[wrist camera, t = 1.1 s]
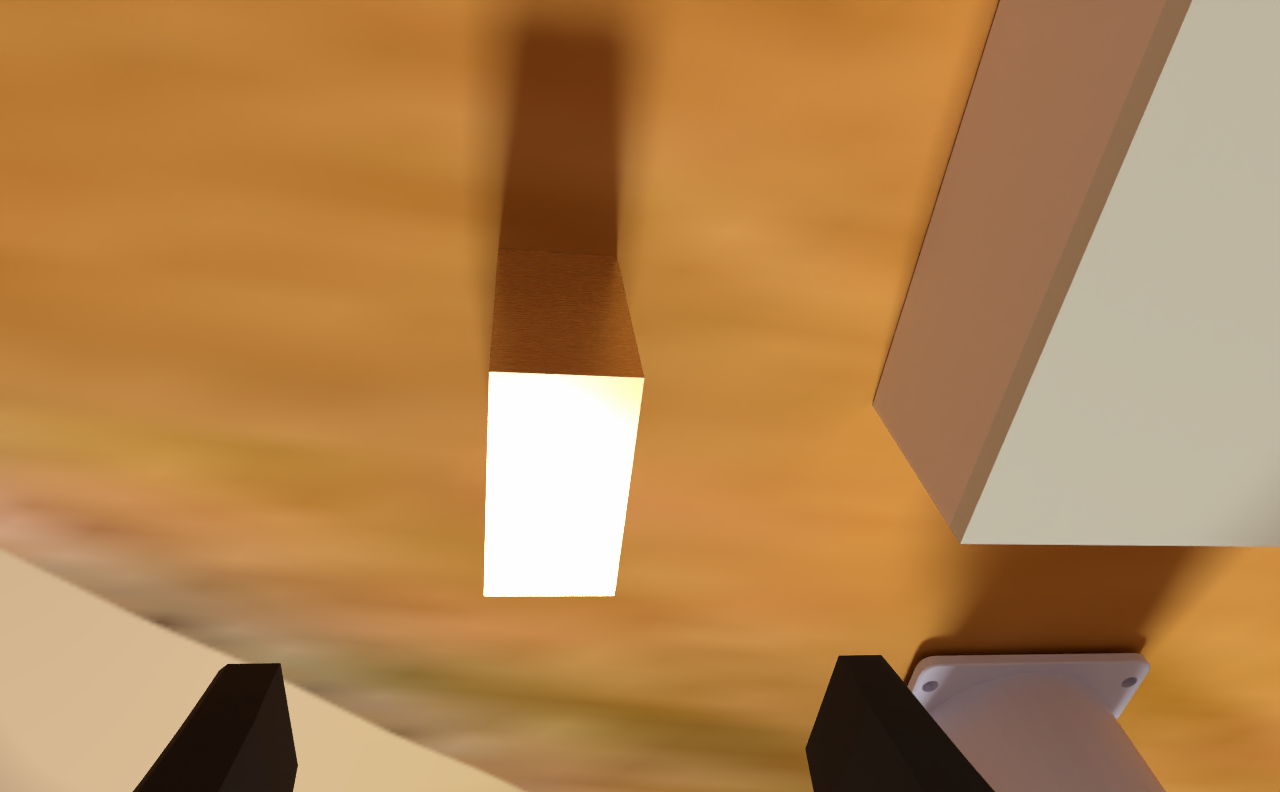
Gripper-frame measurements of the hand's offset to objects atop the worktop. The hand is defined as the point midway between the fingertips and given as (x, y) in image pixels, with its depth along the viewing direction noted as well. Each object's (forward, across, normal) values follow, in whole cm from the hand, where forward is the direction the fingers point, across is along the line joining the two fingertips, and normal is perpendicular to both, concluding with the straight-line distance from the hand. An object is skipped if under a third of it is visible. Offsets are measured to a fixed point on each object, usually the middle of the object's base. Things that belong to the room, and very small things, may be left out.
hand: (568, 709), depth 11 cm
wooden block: (+9, 0, 0) cm, 9 cm away
